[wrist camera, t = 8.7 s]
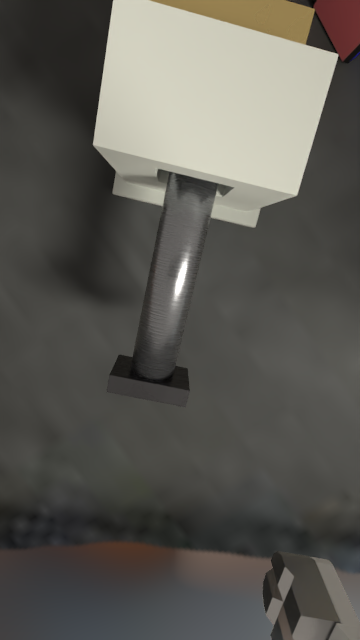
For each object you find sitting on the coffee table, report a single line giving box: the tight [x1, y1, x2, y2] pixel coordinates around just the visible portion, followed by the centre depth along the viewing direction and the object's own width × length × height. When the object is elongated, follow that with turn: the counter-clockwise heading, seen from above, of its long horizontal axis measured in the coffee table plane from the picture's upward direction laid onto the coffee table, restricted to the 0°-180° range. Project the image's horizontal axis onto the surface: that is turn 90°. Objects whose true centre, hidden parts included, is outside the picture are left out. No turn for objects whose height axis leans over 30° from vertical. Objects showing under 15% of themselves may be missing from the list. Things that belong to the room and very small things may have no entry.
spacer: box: [150, 0, 315, 45], centre depth 20 cm, size 3×8×8 cm, turn 77°
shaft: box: [107, 171, 219, 407], centre depth 20 cm, size 19×5×4 cm, turn 167°
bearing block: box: [93, 0, 339, 228], centre depth 20 cm, size 12×12×12 cm
